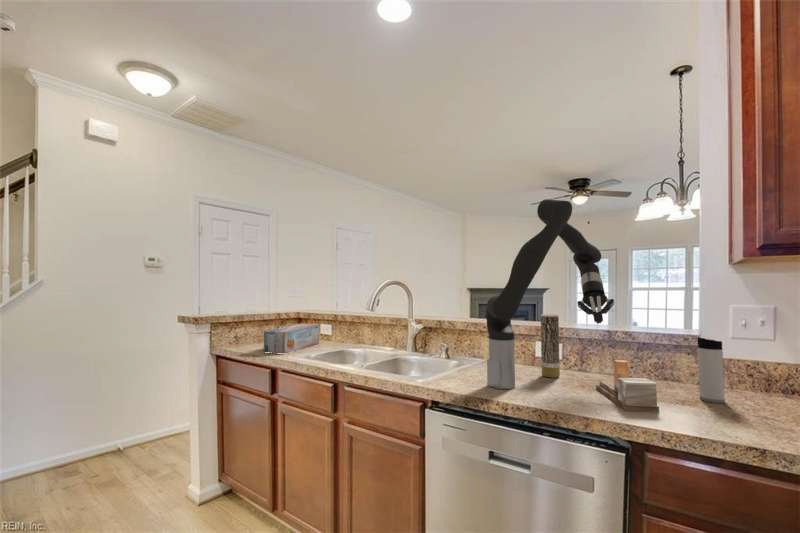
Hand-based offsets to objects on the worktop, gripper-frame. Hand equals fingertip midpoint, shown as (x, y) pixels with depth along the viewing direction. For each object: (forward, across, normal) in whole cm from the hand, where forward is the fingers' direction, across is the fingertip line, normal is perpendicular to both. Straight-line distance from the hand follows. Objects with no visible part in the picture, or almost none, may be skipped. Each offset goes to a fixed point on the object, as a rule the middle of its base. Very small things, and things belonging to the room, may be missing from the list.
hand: (598, 322), depth 137 cm
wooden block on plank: (+26, -4, -7) cm, 27 cm away
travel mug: (+22, -29, -16) cm, 40 cm away
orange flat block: (+27, -5, -3) cm, 27 cm away
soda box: (-10, +161, -27) cm, 163 cm away
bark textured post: (+9, +19, -24) cm, 32 cm away
